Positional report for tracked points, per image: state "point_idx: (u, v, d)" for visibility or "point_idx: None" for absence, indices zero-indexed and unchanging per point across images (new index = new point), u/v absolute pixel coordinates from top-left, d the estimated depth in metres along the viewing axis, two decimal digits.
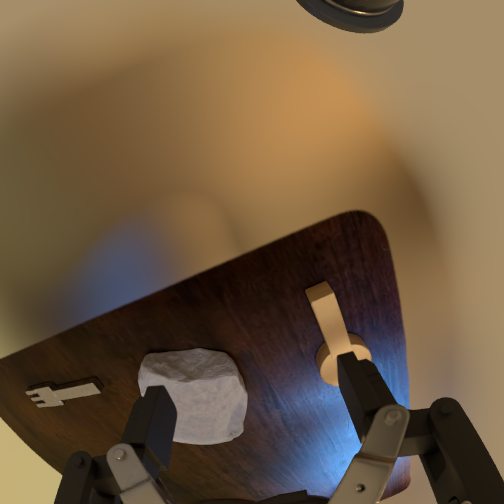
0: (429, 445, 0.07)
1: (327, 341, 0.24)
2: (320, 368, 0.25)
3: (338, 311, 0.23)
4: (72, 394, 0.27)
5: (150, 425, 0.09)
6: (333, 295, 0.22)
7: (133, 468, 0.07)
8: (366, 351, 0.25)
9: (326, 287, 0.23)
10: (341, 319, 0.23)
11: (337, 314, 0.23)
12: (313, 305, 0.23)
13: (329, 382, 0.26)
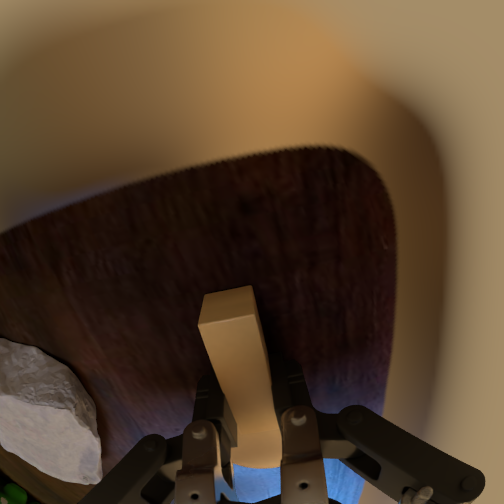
0: (341, 450, 0.08)
1: (231, 406, 0.11)
2: None
3: (260, 356, 0.10)
4: None
5: (224, 400, 0.10)
6: (252, 320, 0.10)
7: (205, 450, 0.08)
8: None
9: (244, 299, 0.11)
10: (265, 373, 0.10)
11: (258, 362, 0.10)
12: (203, 332, 0.10)
13: (235, 461, 0.13)
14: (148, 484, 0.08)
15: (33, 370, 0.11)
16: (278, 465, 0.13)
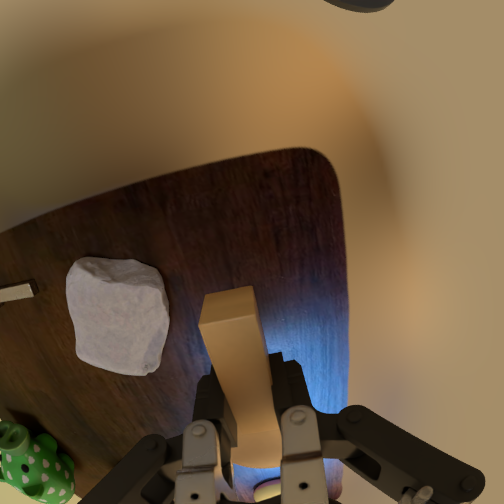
0: (341, 450, 0.08)
1: (231, 406, 0.11)
2: None
3: (261, 357, 0.10)
4: (8, 296, 0.25)
5: (224, 400, 0.10)
6: (253, 320, 0.10)
7: (205, 450, 0.08)
8: None
9: (244, 299, 0.11)
10: (266, 373, 0.10)
11: (258, 362, 0.10)
12: (204, 332, 0.10)
13: (235, 461, 0.13)
14: (148, 484, 0.08)
15: (134, 270, 0.24)
16: (278, 465, 0.13)
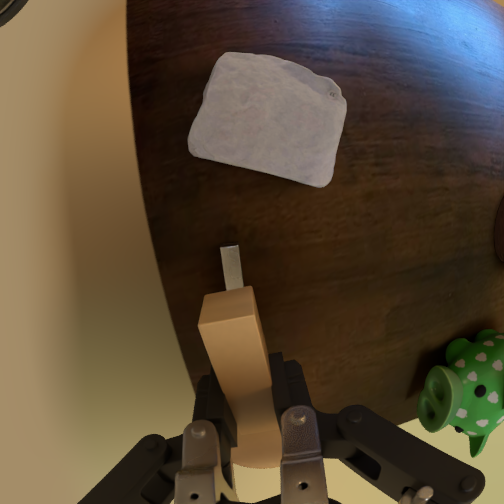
0: (341, 450, 0.08)
1: (231, 406, 0.11)
2: None
3: (261, 357, 0.10)
4: None
5: (224, 400, 0.10)
6: (252, 321, 0.10)
7: (205, 450, 0.08)
8: None
9: (244, 300, 0.11)
10: (266, 374, 0.10)
11: (258, 362, 0.10)
12: (203, 332, 0.10)
13: (235, 461, 0.13)
14: (148, 484, 0.08)
15: (208, 82, 0.20)
16: (278, 465, 0.13)
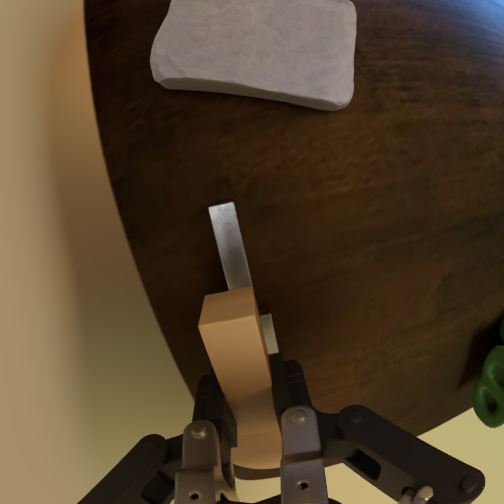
0: (341, 450, 0.08)
1: (231, 407, 0.11)
2: None
3: (261, 358, 0.10)
4: (240, 274, 0.19)
5: (224, 400, 0.10)
6: (253, 322, 0.10)
7: (205, 450, 0.08)
8: None
9: (244, 300, 0.11)
10: (266, 374, 0.10)
11: (258, 363, 0.10)
12: (203, 333, 0.10)
13: (235, 462, 0.13)
14: (148, 484, 0.08)
15: None
16: (278, 465, 0.13)
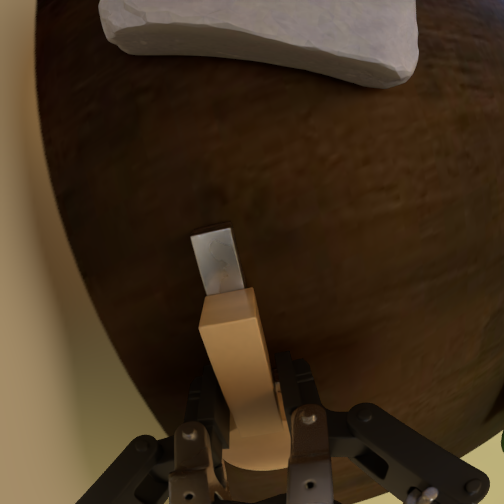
0: (351, 449, 0.08)
1: (232, 409, 0.11)
2: None
3: (262, 360, 0.10)
4: None
5: (216, 401, 0.10)
6: (254, 323, 0.10)
7: (196, 451, 0.08)
8: None
9: (245, 302, 0.11)
10: (267, 376, 0.10)
11: (259, 365, 0.10)
12: (204, 335, 0.10)
13: (235, 464, 0.13)
14: (141, 486, 0.08)
15: None
16: (278, 467, 0.13)
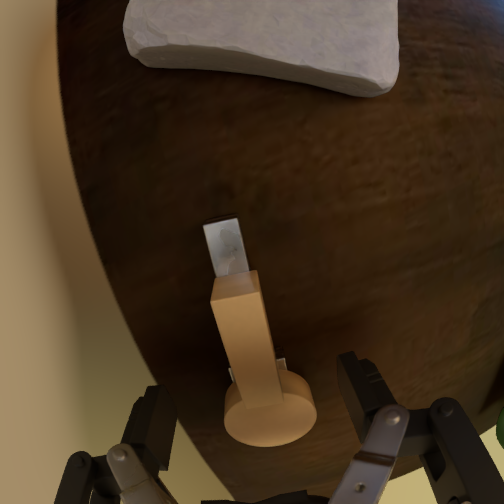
0: (429, 445, 0.07)
1: (237, 379, 0.13)
2: (225, 416, 0.14)
3: (264, 331, 0.12)
4: None
5: (150, 425, 0.09)
6: (258, 297, 0.11)
7: (133, 468, 0.07)
8: (309, 407, 0.14)
9: (250, 281, 0.12)
10: (269, 347, 0.12)
11: (262, 336, 0.12)
12: (215, 308, 0.11)
13: (239, 439, 0.15)
14: None
15: None
16: (280, 443, 0.15)
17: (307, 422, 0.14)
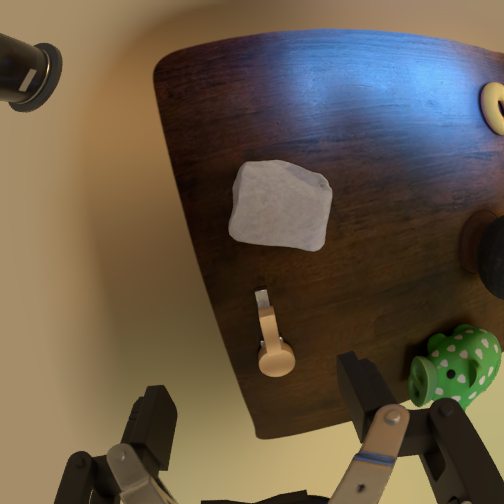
0: (429, 445, 0.07)
1: (266, 343, 0.38)
2: (259, 361, 0.40)
3: (275, 326, 0.37)
4: None
5: (150, 425, 0.09)
6: (273, 316, 0.37)
7: (133, 468, 0.07)
8: (292, 356, 0.39)
9: (271, 310, 0.38)
10: (277, 332, 0.38)
11: (275, 328, 0.37)
12: (260, 319, 0.37)
13: (264, 372, 0.40)
14: None
15: (236, 184, 0.34)
16: (280, 375, 0.40)
17: (291, 364, 0.40)
